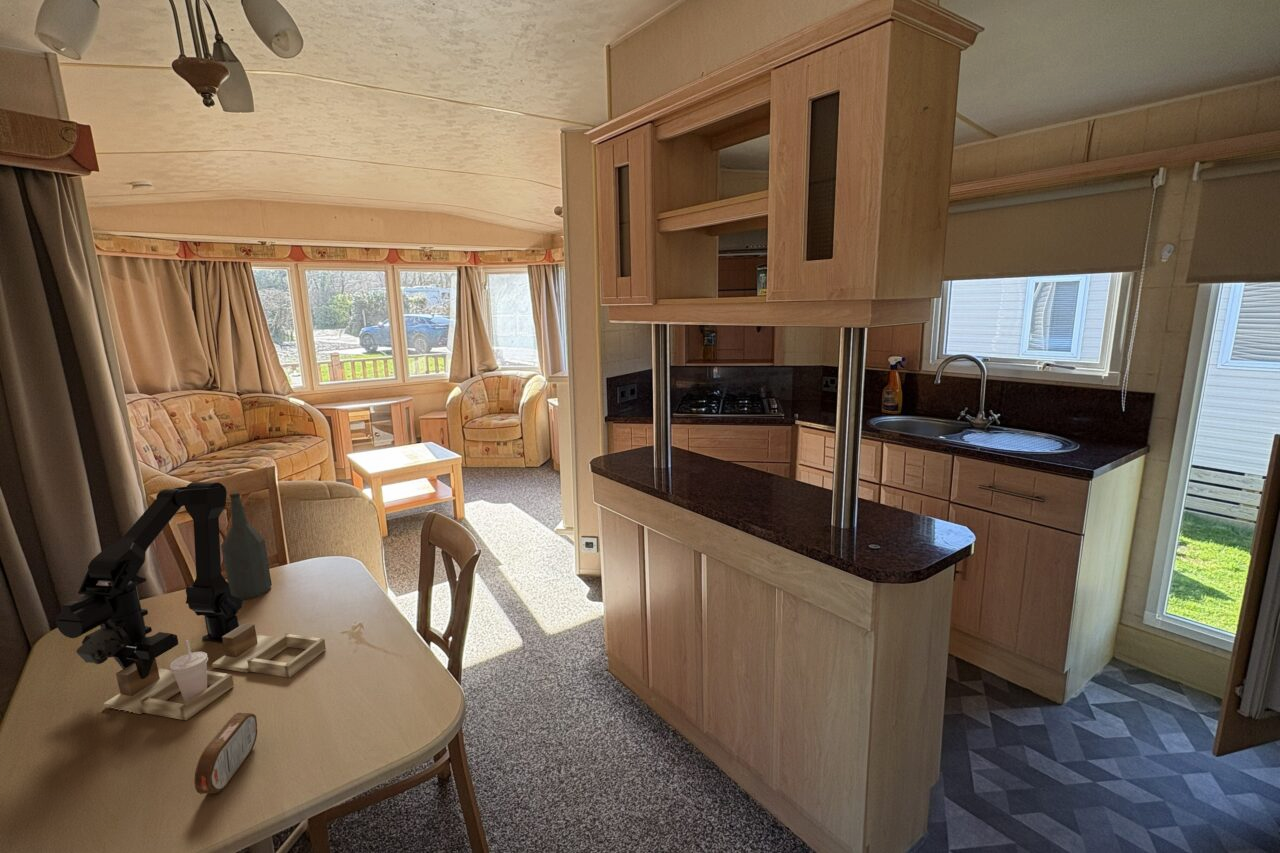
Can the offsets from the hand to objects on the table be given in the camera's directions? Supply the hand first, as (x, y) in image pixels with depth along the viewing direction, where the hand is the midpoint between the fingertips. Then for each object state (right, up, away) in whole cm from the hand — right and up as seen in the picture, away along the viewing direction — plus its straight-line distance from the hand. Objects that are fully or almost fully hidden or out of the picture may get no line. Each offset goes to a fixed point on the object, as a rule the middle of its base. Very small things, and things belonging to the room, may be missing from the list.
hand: (138, 676), depth 128 cm
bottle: (-4, +6, +44) cm, 44 cm away
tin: (+35, -8, -21) cm, 41 cm away
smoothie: (+14, -4, -3) cm, 15 cm away
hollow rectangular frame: (+21, -1, +12) cm, 24 cm away
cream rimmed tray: (+8, -4, -1) cm, 9 cm away
